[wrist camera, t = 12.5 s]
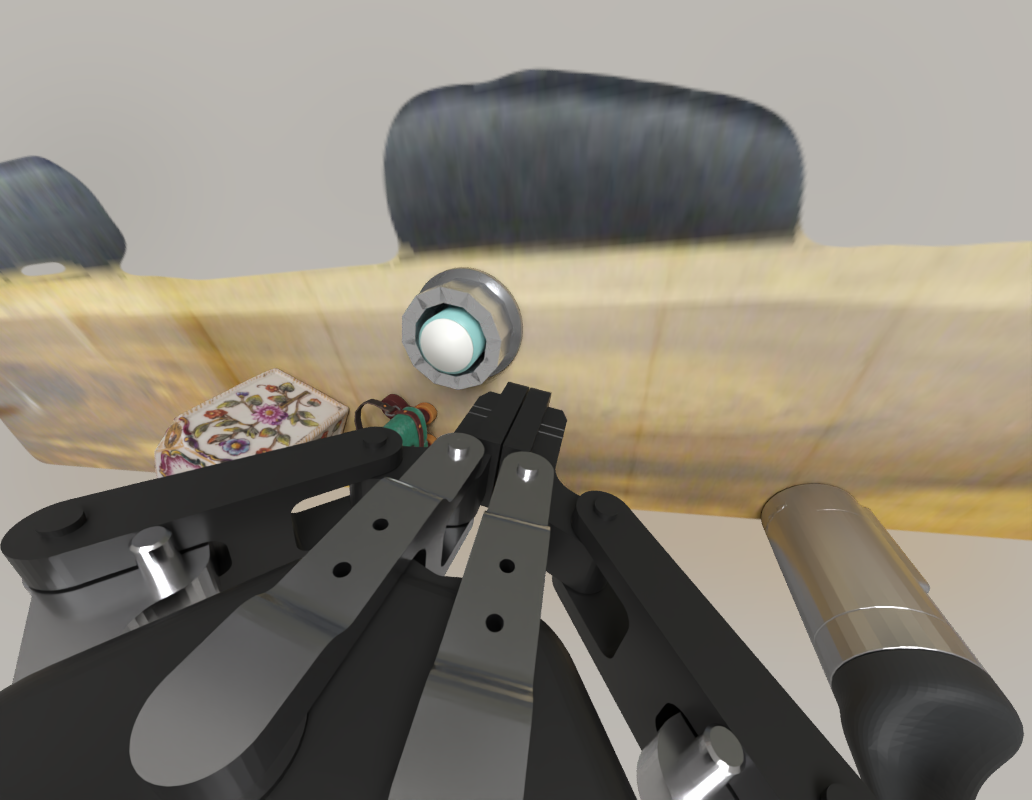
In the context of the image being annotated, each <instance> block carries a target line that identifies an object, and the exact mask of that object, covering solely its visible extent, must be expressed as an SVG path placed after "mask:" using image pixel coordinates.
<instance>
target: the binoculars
mask: <svg viewBox="0 0 1032 800" xmlns="http://www.w3.org/2000/svg"><path fill="white" fill-rule="evenodd" d="M367 403H368V404H372V405H375V406H377V407H379V408H381V409H382V411H383V413H384V414H385V415H386V416H387V417H388V418H390V419H391V420H390V421H389V422H388V423H387V424H386V425H385V426H384V427H385V428H389V429H392V430H394V431H396V432H397V433H399V434H400V436H401V437H402V440H403V446H412V447H430V446H431V445H432V443H433V442H434V441H435V440H436V438H435V437H434V436H433V435H431V434H427V426H426V425H428V424H430V423H431V422H432V421H433V420H434V419H435V418H436V416H437V411H436V409H435V408H434V406H432V405H431V404H429V403H420V404H418V405H417V406H416V407H415V408H413V407H410V406H408V404H407V403H406V402H405V401H404V400H403V399H402V398H401V397H399V396H397V395H395V394H390V395H388V396H387V397H386V398H384V399H383V400H382V401H379V400H375V399H370V400H368V401H365V402H364V403H362V404H361V405H360V406H359V407H358V409H357V410H356V412H355V421H354V422H355V426H356V430H359V429H363V427H362V422H361V409H362V407H363V406H364V405H365V404H367Z"/></svg>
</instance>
